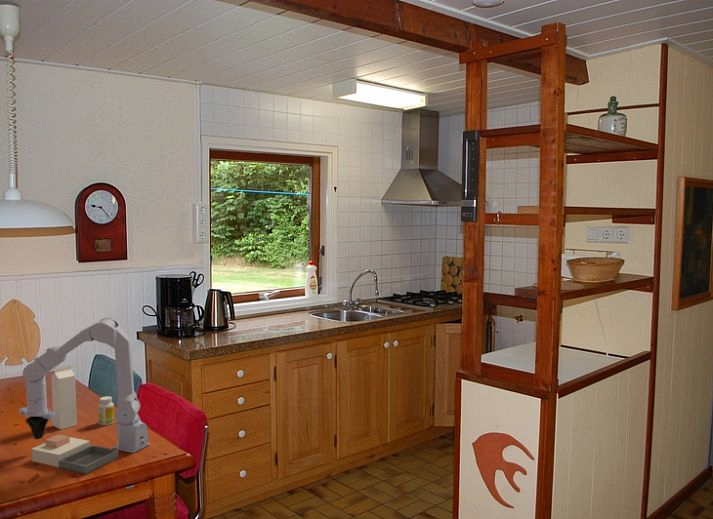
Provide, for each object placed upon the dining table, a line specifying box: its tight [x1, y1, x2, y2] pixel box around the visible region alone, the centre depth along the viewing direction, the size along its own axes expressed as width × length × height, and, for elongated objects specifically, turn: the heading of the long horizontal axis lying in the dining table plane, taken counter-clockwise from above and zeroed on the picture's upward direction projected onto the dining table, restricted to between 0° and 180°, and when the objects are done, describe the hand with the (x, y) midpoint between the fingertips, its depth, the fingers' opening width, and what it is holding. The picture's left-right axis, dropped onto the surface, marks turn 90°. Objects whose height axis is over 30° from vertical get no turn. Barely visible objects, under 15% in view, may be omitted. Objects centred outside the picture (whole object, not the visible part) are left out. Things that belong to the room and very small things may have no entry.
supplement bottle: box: [97, 395, 115, 426], centre depth 225 cm, size 5×5×10 cm
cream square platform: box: [30, 436, 91, 468], centre depth 195 cm, size 12×12×4 cm
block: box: [44, 433, 70, 448], centre depth 195 cm, size 5×5×2 cm
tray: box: [58, 444, 120, 475], centre depth 191 cm, size 11×13×2 cm
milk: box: [50, 365, 78, 430], centre depth 222 cm, size 6×6×22 cm
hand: (38, 438), depth 199 cm, fingers closed
